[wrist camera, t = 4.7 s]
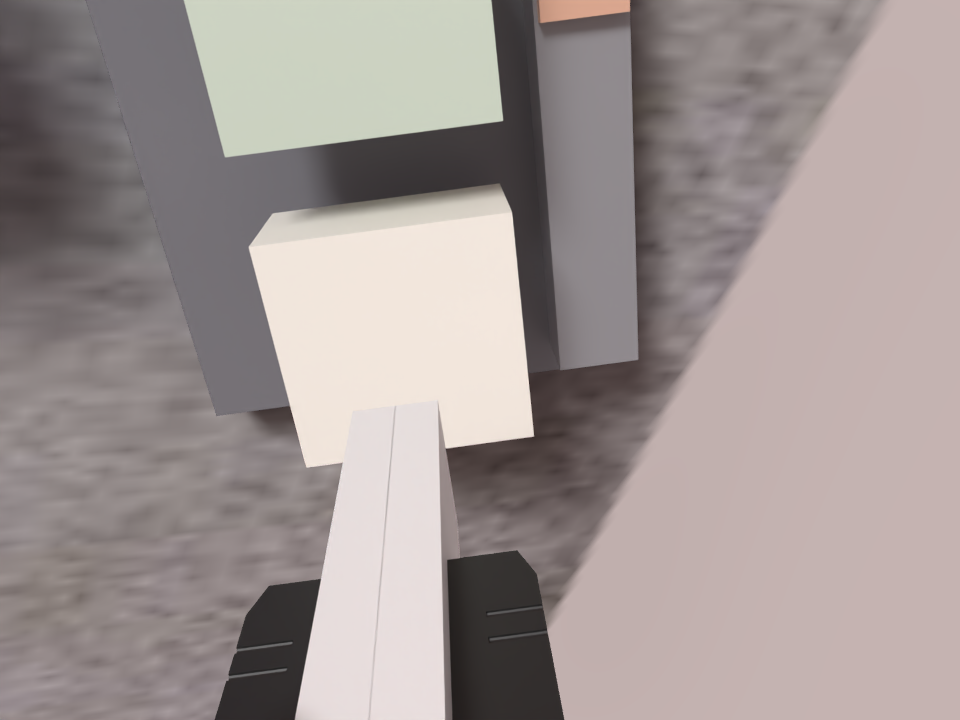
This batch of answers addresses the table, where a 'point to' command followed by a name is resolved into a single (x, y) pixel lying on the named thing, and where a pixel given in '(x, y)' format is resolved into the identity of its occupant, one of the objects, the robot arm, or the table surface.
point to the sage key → (344, 69)
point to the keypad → (397, 183)
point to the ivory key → (397, 314)
